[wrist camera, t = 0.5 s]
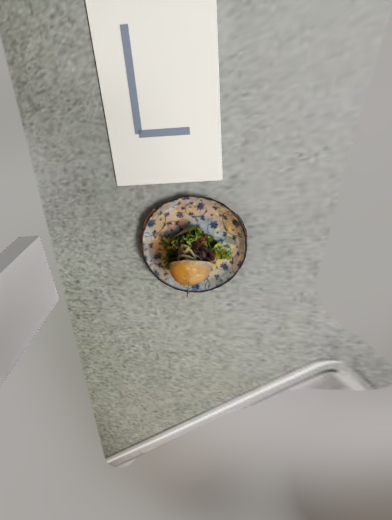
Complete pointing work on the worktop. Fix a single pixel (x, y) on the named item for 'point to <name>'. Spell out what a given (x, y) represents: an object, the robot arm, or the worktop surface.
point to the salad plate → (193, 243)
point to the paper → (159, 88)
